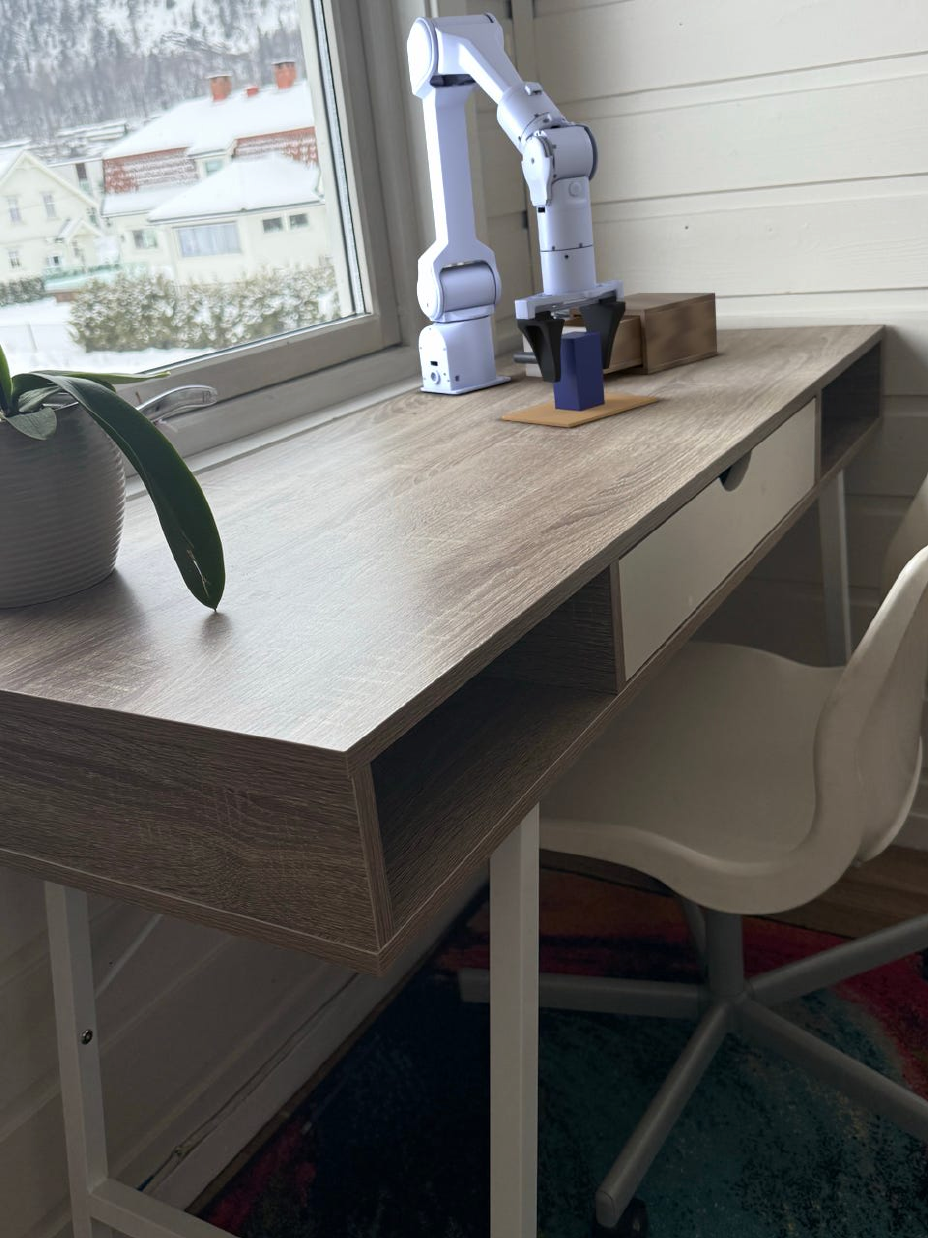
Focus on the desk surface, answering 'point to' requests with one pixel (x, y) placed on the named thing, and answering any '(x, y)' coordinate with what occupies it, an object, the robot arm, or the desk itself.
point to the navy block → (580, 372)
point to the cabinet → (671, 328)
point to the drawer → (623, 350)
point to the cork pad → (568, 418)
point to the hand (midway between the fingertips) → (576, 374)
